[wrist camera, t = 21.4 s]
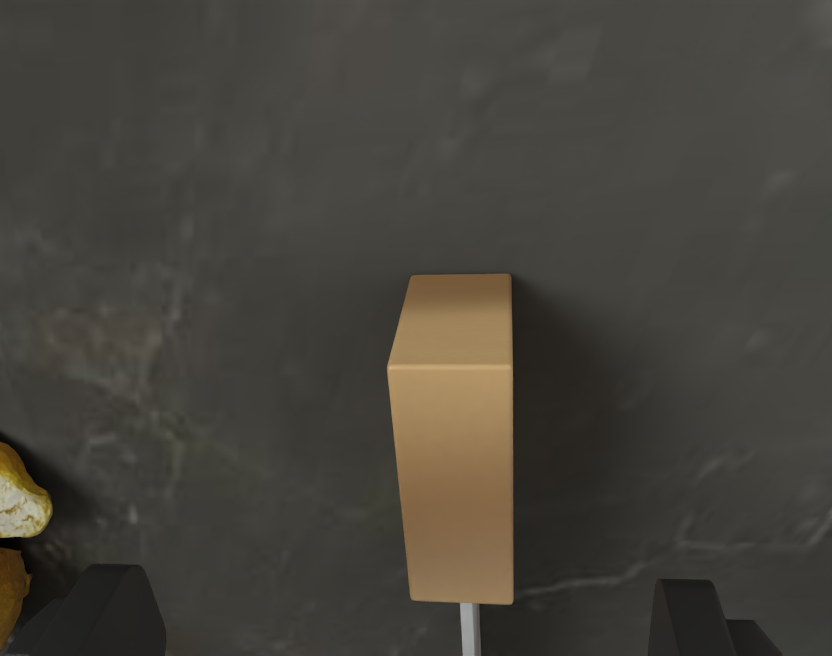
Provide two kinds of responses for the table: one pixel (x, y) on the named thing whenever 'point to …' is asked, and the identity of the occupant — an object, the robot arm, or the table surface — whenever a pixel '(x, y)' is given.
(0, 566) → the fruit
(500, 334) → the knife
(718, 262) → the table surface
